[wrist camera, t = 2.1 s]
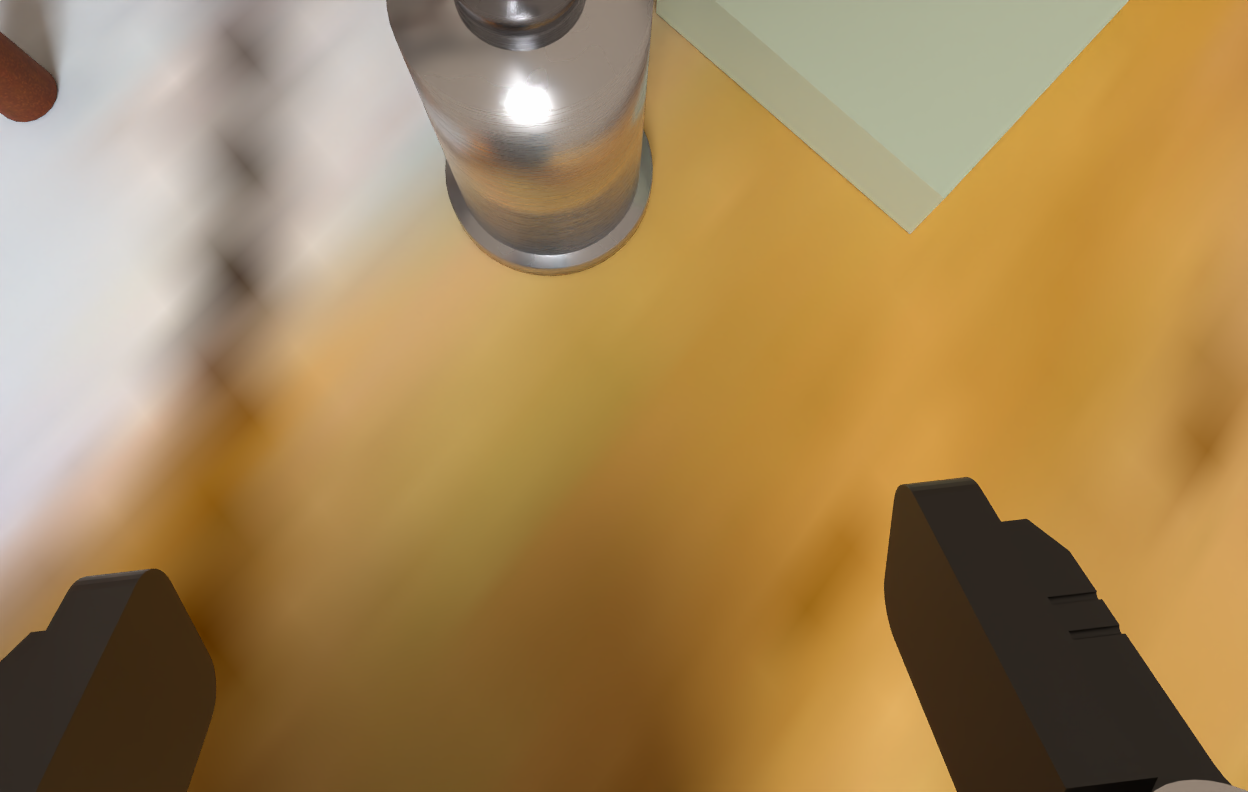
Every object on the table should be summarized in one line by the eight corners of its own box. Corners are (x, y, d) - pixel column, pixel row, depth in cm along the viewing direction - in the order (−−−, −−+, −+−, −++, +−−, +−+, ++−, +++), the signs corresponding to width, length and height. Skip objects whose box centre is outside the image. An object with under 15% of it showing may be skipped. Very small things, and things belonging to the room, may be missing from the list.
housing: (407, 181, 29) (281, -44, 18) (548, 46, 30) (511, -249, 19) (553, 317, 28) (516, 170, 17) (692, 175, 29) (743, -52, 18)
